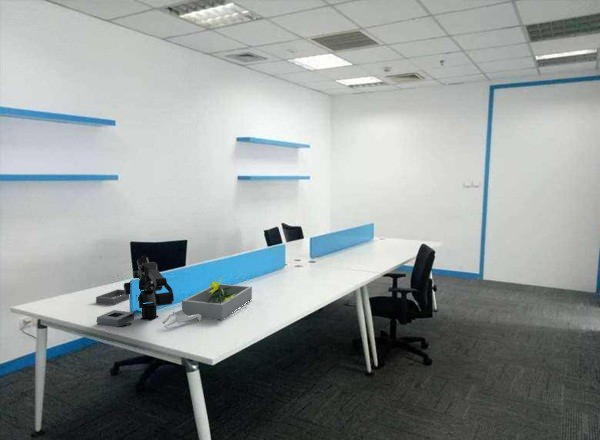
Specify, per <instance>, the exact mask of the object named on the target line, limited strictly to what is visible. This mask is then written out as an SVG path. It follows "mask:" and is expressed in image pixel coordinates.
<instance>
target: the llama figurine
mask: <svg viewBox="0 0 600 440" xmlns="http://www.w3.org/2000/svg"><path fill="white" fill-rule="evenodd" d="M172 317H175V320H173V321H171V322H169V323H168V324H166V322H168V321H169V320H170V319H171V318H172ZM196 317H197V318H196ZM195 318H196V319H197V321H198V320H199V321H198V322H201V321H202V318H201V315H200V314H195V315H191V316H187V315H186V314H185V313H183V311H182V308H181V309H177V310H175V311H173V312H172V313H171V314H169V315H168V316H167V318H165V319H164V320H163V321H162V324H163V325H164V328H167V329H168V327H170V326H172V325H174V324H175V323H180V322H183V321H184V322H185V321H191V320H193V319H195ZM165 324H166V325H165Z"/></svg>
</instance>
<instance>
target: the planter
mask: <svg viewBox="0 0 600 440" xmlns="http://www.w3.org/2000/svg"><path fill="white" fill-rule="evenodd" d="M219 287H220V288H225V287H232V288H230V289H227V290H223V292H224V293H225V292H227V293H226V294H225V295H228V294H232V293H234V294H235V295H234V294H233V296H234V297H232V298H230V299H228V300H227V301H225V302H223V301H222V303H221V304H220V303H217V302H216V303H215V302H214V303H212V301H213V299H214V298H215V297H213V298H212V296H213V295H215V294H210V293H212V292H213V291H212V292H209V291H211V290H213V287H206V288H205V289H203V290H201V291H198V292H197V293H195V294H193V295H191V296H189V297H187V298H184V299H182V300H181V310H182V311H183V313H185V314H186V315H187V316H191V315H195V314H200V315H201V319H205V318H211V319H210V320H214V319H220V320H219V321H224V320H225V319H226V317H227V316H228V315H230V314H231V313H232V312H234V311H235V310H236V309H238V308H239V307H241V306H242V305H244V304H245V303H246V302H248V301H249V300H251V299H252V300H253V287H252V286H247V285H237V284H236V285H235V284H227V283H226V284H224V283H220V284H219ZM214 292H215V291H214ZM216 294H217V293H216ZM220 295H222V293H220ZM231 296H232V295H231ZM231 296H229V297H231ZM229 297H227V298H229ZM252 300H251V301H252ZM208 302H209V303H208ZM248 303H249V302H248ZM245 305H246V304H245ZM245 305H244V306H245ZM242 307H243V306H242ZM242 307H241V308H242ZM238 310H239V309H238ZM235 312H236V311H235ZM235 312H234V313H235ZM232 314H233V313H232ZM232 314H231V315H232ZM231 315H230V316H231ZM228 317H229V316H228ZM228 317H227V318H228ZM224 318H225V319H224ZM223 319H224V320H223Z"/></svg>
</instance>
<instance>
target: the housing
mask: <svg viewBox="0 0 600 440" xmlns="http://www.w3.org/2000/svg"><path fill="white" fill-rule="evenodd" d="M134 320H135V312H133V311H123V310H116V309H114V310H111V311H108V312H106V313H104V314H102V315H101V314H100V316H97V317H96V325H100V326H106V327H114V328H115V327H117V328H119V327H121V326H123V325H126V324H128V323H129V322H132V321H134ZM125 323H126V324H125Z"/></svg>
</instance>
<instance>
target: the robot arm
mask: <svg viewBox="0 0 600 440" xmlns="http://www.w3.org/2000/svg"><path fill="white" fill-rule="evenodd" d="M136 263H137V269H138V270H134V271H133V272H132V277H133V279H137V278H139V279H140V280H139V289H140V291H141V290H144V291H141V293H140V295H139V297H138V301H139V308H142V312H141V317H140V318H139V319H140V320H145V321H153V320H155V319H157V318H158V317H159V315H157V313H158V312H157V307H161V306H162V307H163V306H167V305H173V303H174V301H175V296H174V292H173V288H172V287H171V286H170V285H169V284H168V280H167V277H164V276H163V275H162V274H161V272H160V270H159V267H158V264H157V263H156V262H155V261H149V257H147V255H142V256H141V257H139V258H137V259H136ZM130 282H131V281H129V282H125V283H124V284H123V290H124V291H125V294H126V295H129V294H130ZM163 287H164V288H165V289H166V290H167V291H168V292H167V291H166V292H160V293H157V292H158V291H162V290H163ZM143 303H146V304H143Z"/></svg>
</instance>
